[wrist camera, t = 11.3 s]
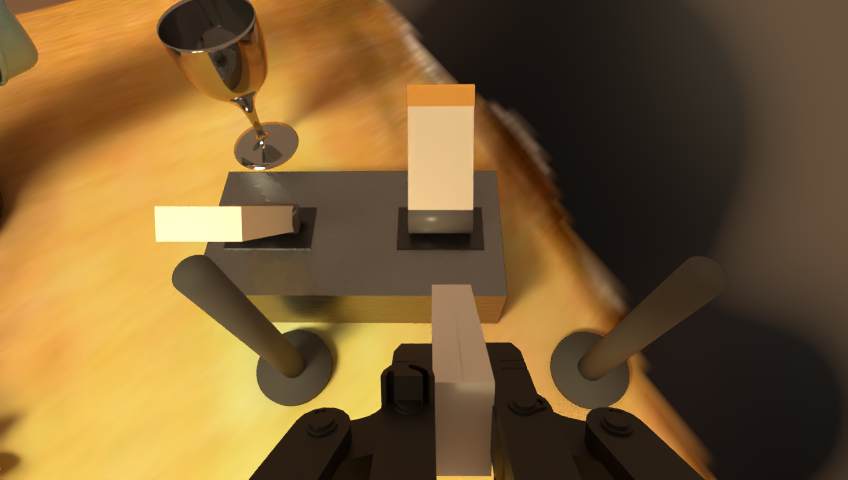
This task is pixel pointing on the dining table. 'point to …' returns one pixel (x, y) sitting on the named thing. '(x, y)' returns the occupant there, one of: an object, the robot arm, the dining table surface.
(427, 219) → the panel
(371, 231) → the panel
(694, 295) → the post
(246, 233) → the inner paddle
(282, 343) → the post
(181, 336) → the dining table surface
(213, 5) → the wine glass
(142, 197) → the dining table surface
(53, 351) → the dining table surface
